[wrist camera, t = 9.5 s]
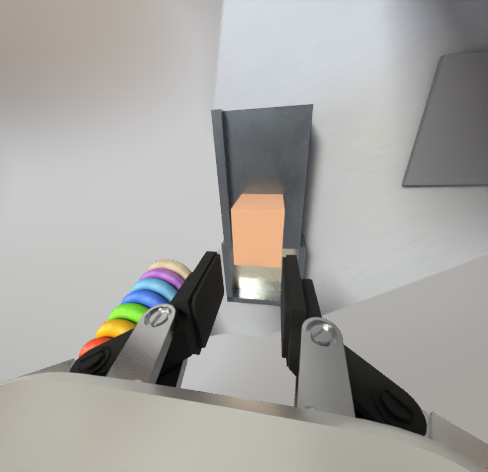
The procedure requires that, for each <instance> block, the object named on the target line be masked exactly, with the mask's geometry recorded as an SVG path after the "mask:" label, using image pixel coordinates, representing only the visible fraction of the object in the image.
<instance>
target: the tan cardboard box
mask: <svg viewBox="0 0 488 472" xmlns="http://www.w3.org/2000/svg"><path fill="white" fill-rule="evenodd" d="M284 215H285V208H284V200H283V194H241V196H240V197H239V199H238V200H237V201H236V203H235V204H234V206H233V207H232V208H231V220H232V237H233V254H234V265H245V266H261V267H276V268H281V259H282V244H283V230H284Z"/></svg>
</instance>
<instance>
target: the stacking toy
mask: <svg viewBox="0 0 488 472" xmlns="http://www.w3.org/2000/svg"><path fill="white" fill-rule="evenodd" d="M190 273H191V271H190V270H189V269H188V268H187V267H186V266H185V265H183V264H182V263H180V262H177V261H175V260H170V259H163V260H159V261H156V262H155V263H153V264H152V265H150V267H149V268H148V270H147V272H146V273H144V274H143V275H142V276H141V278H140V280H139V281H138V282H137V283H136V284H135V285H134V286H133V287H132V289H131V291H130V294H128V295H127V296H125V297H124V299H123V300H122V302H121V305H120V306H118V307H116V308H115V309H114V310H113V311H112V312H111V314H110V315H109V319H108V321H107V322H105V323H104V324H103V325H102V326H100V328H99V329H98V331H97V333H96V338H95V339H93V340H91V341H89V342H88V343H86V345H84V347H83V348H82V349H81V351H80V354H79V357H80V356H81V355H83V354H84V353H85V352H87V351H88V350H90V349H92V348H94V347H96V346H98V345H100V344H102V343H104V342H106V341H108V340H110V339H112V338H114V337H116V336H118V335H120V334H123V333H125V332H127V331H129V330H131V329H133V328H135V327H136V325H137V324H138V322H139V320H140V319H141V317H142V316H143V314H144V313H145V312H146V311H147V310H149V309H150V308H152V307H154V306H156V305H159V304H169V303H170V302H171V300H172V299H173V297H174V296H175V294H176V293H177V291H178V290H179V288H180V287H181V286H182V284H183V283H184V281H185V280H186V278H187V277H188V275H189V274H190Z"/></svg>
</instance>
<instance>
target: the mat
mask: <svg viewBox="0 0 488 472" xmlns="http://www.w3.org/2000/svg"><path fill="white" fill-rule="evenodd" d="M469 184H488V50H487V51H478V52H469V53H459V54H450V55H444V56H442V57H441V58H440V61H439V64H438V67H437V71H436V74H435V77H434V81H433V84H432V87H431V91H430V94H429V97H428V101H427V104H426V107H425V110H424V114H423V117H422V120H421V124H420V127H419V130H418V134H417V137H416V140H415V143H414V147H413V150H412V153H411V157H410V160H409V163H408V167H407V170H406V173H405V177H404V180H403V183H402V185H469Z"/></svg>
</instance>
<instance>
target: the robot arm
mask: <svg viewBox="0 0 488 472" xmlns="http://www.w3.org/2000/svg"><path fill="white" fill-rule="evenodd" d="M223 296H224V285H223V276H222V267H221V259H220V254H217V252H209V251H207V252H206V253H205V255H204V256H203V258H202V259H201V261H200V262H199V264H198V265H197V267H196V269H195V270H194V271H193V272H191V273H190V274H189V275H188V277H187V278H186V280H185V281H184V283H183V284H182V286H181V287H180V288H179V290H178V291H177V293H176V294H175V296H174V297H173V299H172V300H171V302H170V303H169V304H159V305H156V306H154V307H152V308H150V309H149V310H147V311H146V312H145V313H144V314H143V316H142V317H141V319H140V320H139V322H138V324H137V325H136V327H135V328H133V329H131V330H129V331H127V332H125V333H123V334H120V335H118V336H116V337H114V338H112V339H110V340H108V341H106V342H104V343H102V344H100V345H98V346H96V347H94V348H92V349H90V350H88V351H87V352H85V353H84V354H83V355H81V356H80V357H79V358H78V359H77V360H76V361H75V359H71V360H68V361H65V362H62V363H59V364H56V365H53V366H50V367H47V368H44V369H41V370H38V371H36V372H32V373H29V374H26V375H23V376H21V377H17V378H15V379H11V380H8V381H4V382H2V383H0V472H488V444H486V443H485V442H483V441H481V440H479V439H478V438H476V437H474V436H473V435H471V434H469V433H467V432H466V431H464V430H462V429H461V428H459V427H457V426H455V425H454V424H452V423H450V422H449V421H447V420H445V419H443V418H442V417H440V416H438V415H437V414H435V413H433V412H431V414H428V413H426V412H424V411H423V410H421V408H420V407H419V406H418V404H417V403H416V402H415V400H414V399H413V398H412V397H411V396H410V395H409V394H408V393H407V392H405V391H404V390H403V389H402V388H400V387H399V386H398V385H396V384H395V383H394V382H393V381H391V380H390V379H389V378H387V377H386V376H385V375H383V374H382V373H380V372H379V371H378V370H377V369H375V368H374V367H373V366H371V365H370V364H369V363H367V362H366V361H365V360H364V359H362V358H361V357H360V356H358V355H357V354H356V353H354V352H353V351H352V350H350V349H349V348H348V347H346V346H345V345H344V344H343V338H342V335H341V332H340V330H339V329H338V328H337V327H336V325H334V324H333V323H332V322H330V321H328V320H327V319H324V318H322V316H321V312H320V309H319V305H318V301H317V297H316V293H315V289H314V285H313V282H312V280H311V279H301V277H300V271H299V266H298V260H297V255H286V257H282V276H281V337H282V338H281V341H282V357H283V358H286V360H287V366H288V367H289V369H290V370H291V371H292V372H293V374H294V375H295V376H296V382H295V398H294V407H292V406H286V405H280V404H274V403H268V402H262V401H256V400H250V399H244V398H238V397H232V396H225V395H219V394H213V393H207V392H200V391H194V390H188V389H182V388H180V387H181V383H182V380H183V376H184V372H185V368H186V364H187V359H188V357H190V356H191V355H192V354H197V355H199V354H200V352H201V349H202V348H204V347H206V344H207V341H208V338H209V336H210V333H211V330H212V327H213V324H214V321H215V319H216V316H217V313H218V310H219V307H220V304H221V301H222V299H223Z"/></svg>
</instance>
